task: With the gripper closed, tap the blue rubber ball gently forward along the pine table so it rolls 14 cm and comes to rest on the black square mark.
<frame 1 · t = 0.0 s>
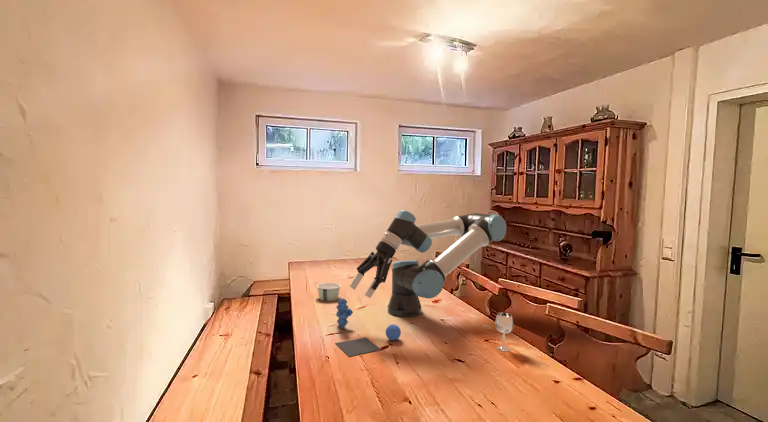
hand: (359, 292, 143), 15 cm above the table, tool tilted 35°, fingers open, 13 cm apart
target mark: (357, 346, 129), on the table
wineglass: (503, 349, 129), on the table
grapes: (344, 328, 147), on the table
food container: (328, 298, 188), on the table
ball: (393, 332, 136), on the table
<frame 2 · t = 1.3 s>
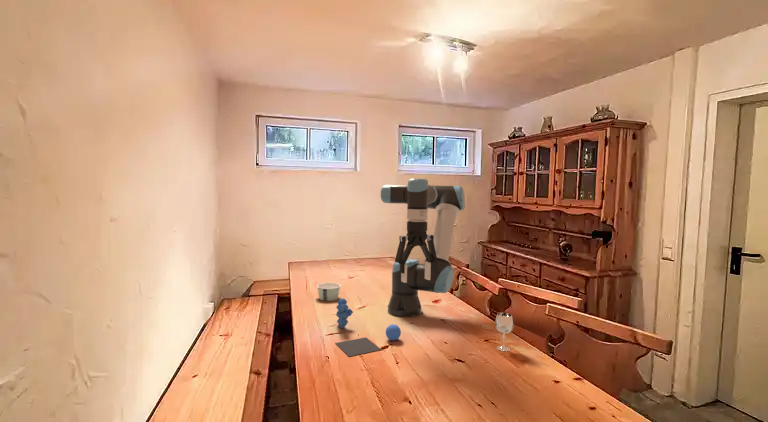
hand: (415, 280, 140), 21 cm above the table, tool pointing down, fingers open, 10 cm apart
nothing on the table moved.
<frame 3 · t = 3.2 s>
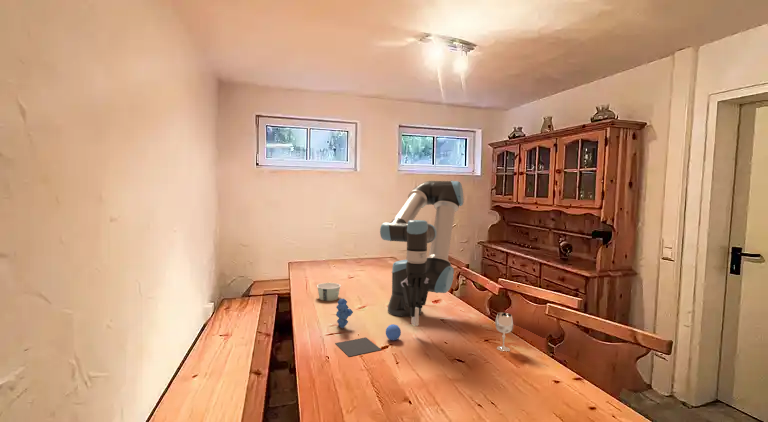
hand: (414, 324, 140), 4 cm above the table, tool pointing down, fingers closed
nothing on the table moved.
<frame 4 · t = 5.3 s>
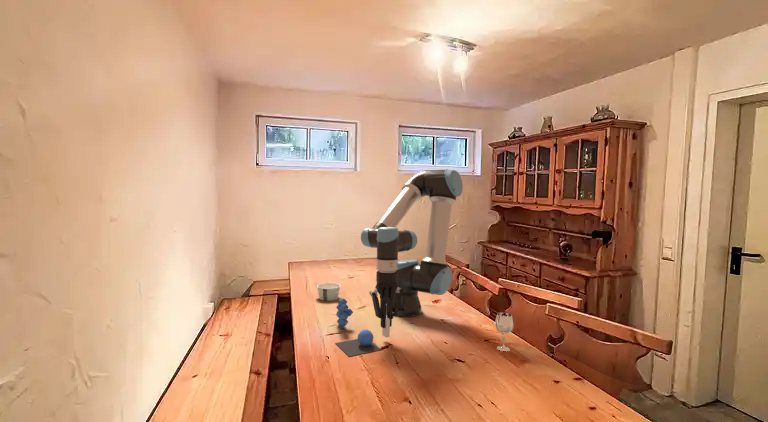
hand: (385, 335, 134), 2 cm above the table, tool pointing down, fingers closed
ball: (365, 337, 130), on the table
everything else where it was.
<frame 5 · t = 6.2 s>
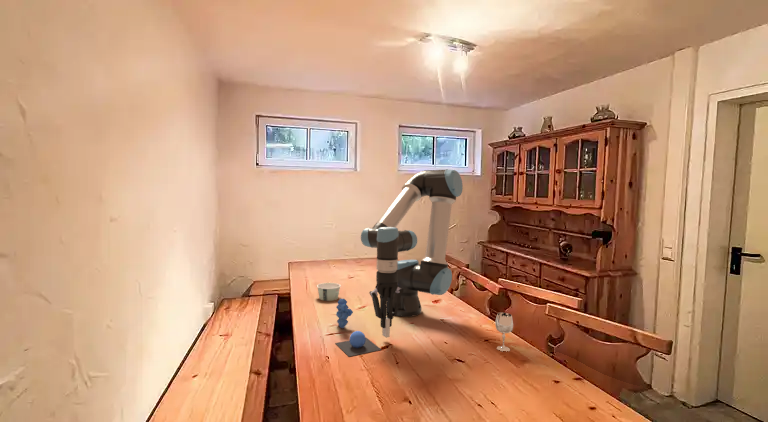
hand: (385, 335, 134), 2 cm above the table, tool pointing down, fingers closed
ball: (357, 339, 129), on the table
everything else where it was.
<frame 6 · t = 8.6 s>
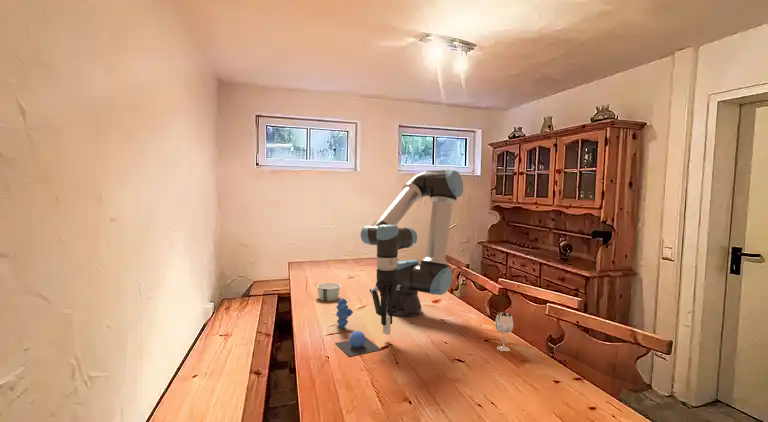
hand: (386, 333, 135), 3 cm above the table, tool pointing down, fingers closed
nothing on the table moved.
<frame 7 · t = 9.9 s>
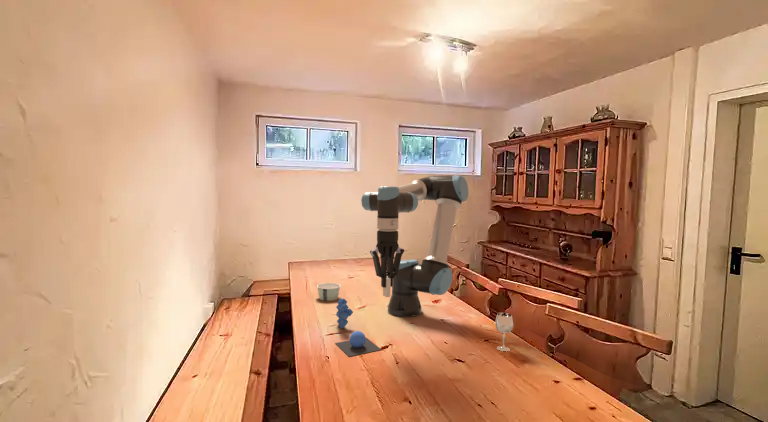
hand: (386, 295, 134), 16 cm above the table, tool pointing down, fingers closed
nothing on the table moved.
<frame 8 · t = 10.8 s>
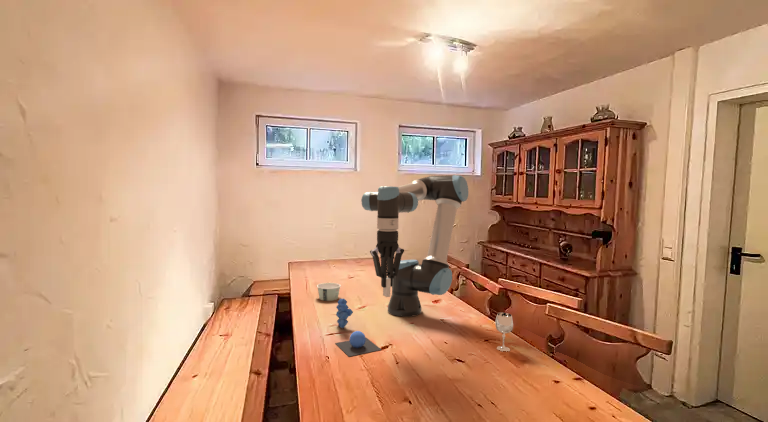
hand: (386, 295, 134), 16 cm above the table, tool pointing down, fingers closed
nothing on the table moved.
at the end: ball 0.4 cm from the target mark (horizontally); ball at rest at the end (0.0 cm/s); ball moved 14.3 cm from its start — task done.
